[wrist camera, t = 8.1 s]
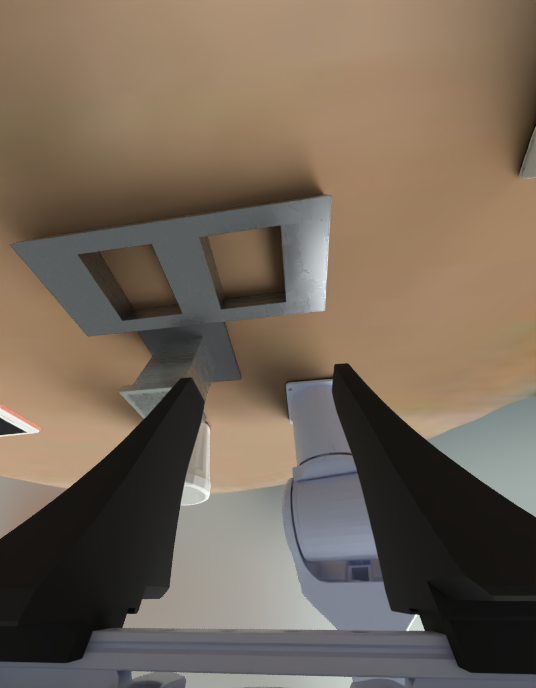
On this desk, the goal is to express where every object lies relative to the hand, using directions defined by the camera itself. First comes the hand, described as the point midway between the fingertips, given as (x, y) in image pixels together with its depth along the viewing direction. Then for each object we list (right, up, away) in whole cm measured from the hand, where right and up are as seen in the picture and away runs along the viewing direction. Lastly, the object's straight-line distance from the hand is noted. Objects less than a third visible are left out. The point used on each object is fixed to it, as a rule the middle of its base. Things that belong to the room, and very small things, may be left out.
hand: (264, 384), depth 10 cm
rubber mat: (-8, +1, +13) cm, 15 cm away
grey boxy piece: (-8, +1, +12) cm, 15 cm away
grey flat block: (-6, +8, +7) cm, 12 cm away
